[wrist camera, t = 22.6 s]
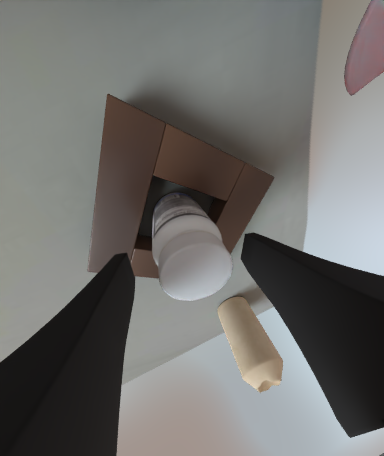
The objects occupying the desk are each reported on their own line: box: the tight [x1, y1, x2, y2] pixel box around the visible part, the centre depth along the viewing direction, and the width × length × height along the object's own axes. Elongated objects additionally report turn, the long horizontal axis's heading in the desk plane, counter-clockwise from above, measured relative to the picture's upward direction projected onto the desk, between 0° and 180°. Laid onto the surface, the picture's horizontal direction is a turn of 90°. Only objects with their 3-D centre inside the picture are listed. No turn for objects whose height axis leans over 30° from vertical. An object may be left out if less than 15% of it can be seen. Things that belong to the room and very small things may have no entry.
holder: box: [87, 94, 275, 278], centre depth 13 cm, size 13×13×2 cm
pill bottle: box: [152, 193, 233, 301], centre depth 11 cm, size 5×5×8 cm
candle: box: [218, 297, 283, 392], centre depth 21 cm, size 6×6×10 cm
